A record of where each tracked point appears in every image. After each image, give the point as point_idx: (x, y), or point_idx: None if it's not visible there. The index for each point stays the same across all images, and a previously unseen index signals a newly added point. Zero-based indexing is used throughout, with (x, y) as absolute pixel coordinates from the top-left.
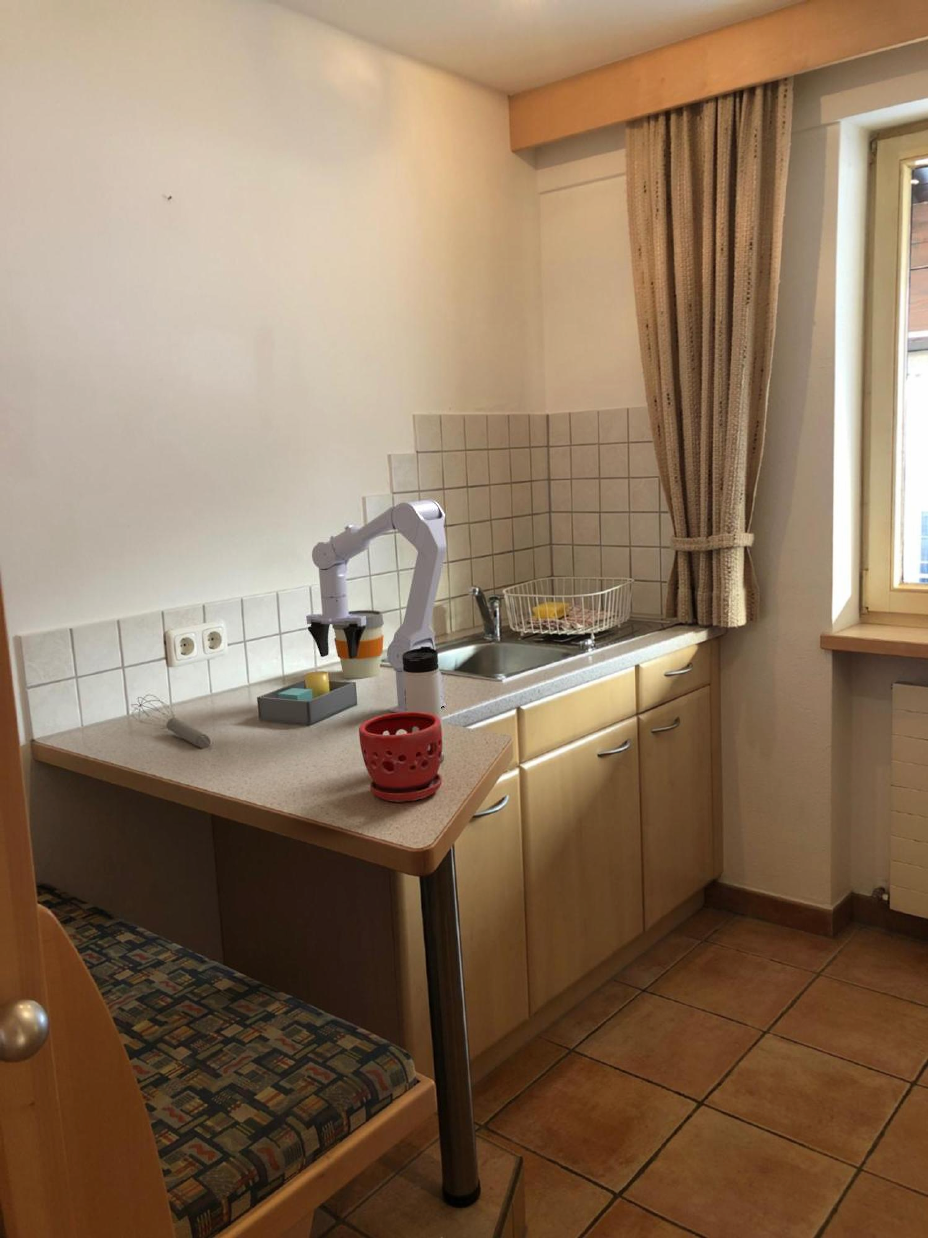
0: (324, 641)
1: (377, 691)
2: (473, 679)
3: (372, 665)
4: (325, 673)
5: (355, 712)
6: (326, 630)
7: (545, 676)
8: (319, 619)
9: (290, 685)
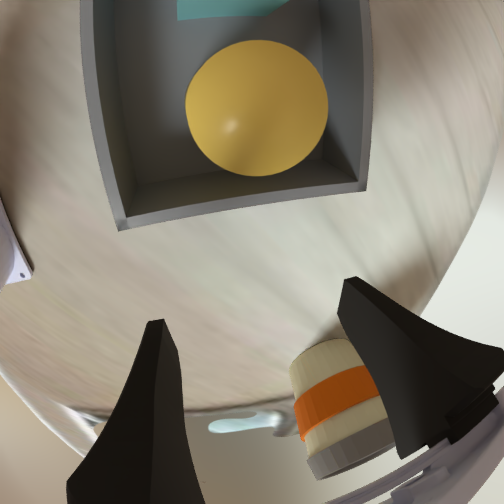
0: (381, 358)
1: (195, 313)
2: (109, 407)
3: (296, 382)
4: (211, 137)
5: (68, 124)
6: (399, 418)
7: (57, 423)
8: (473, 475)
9: (364, 74)
